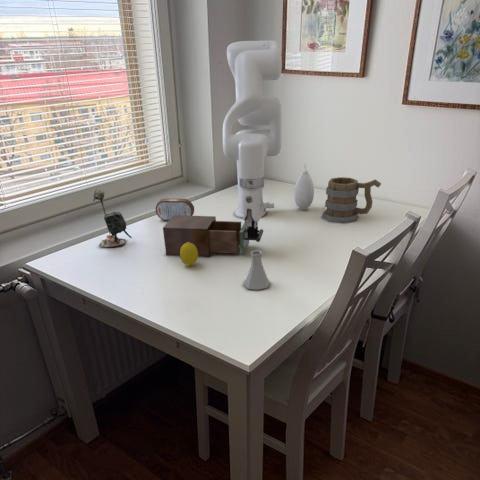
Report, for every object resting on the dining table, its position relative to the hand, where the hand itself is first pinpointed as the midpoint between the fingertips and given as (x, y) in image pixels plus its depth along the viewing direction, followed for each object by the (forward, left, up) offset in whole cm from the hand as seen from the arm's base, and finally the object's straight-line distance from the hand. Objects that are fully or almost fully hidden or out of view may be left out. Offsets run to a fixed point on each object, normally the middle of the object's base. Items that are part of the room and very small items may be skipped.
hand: (252, 238), depth 151 cm
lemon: (+21, +7, -5) cm, 23 cm away
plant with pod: (+46, -18, -5) cm, 49 cm away
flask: (+4, +24, -5) cm, 25 cm away
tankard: (-42, -23, -5) cm, 49 cm away
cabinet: (+20, -7, -5) cm, 21 cm away
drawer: (+6, -2, -4) cm, 7 cm away
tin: (+24, -38, -5) cm, 45 cm away
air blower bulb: (-28, -38, -5) cm, 48 cm away
